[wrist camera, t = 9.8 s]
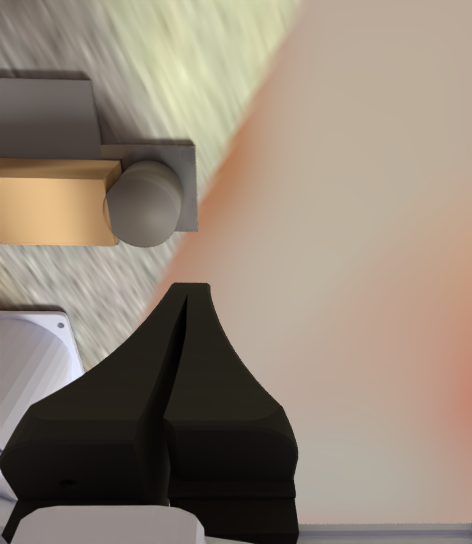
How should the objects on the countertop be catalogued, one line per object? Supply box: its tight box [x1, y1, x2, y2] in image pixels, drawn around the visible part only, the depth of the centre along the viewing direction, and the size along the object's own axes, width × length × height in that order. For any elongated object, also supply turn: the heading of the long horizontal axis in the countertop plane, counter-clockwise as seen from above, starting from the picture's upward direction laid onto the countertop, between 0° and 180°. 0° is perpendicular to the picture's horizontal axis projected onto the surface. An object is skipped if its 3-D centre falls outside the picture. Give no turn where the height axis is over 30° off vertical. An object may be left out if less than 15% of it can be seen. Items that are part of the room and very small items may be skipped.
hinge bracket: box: [100, 143, 198, 232], centre depth 20 cm, size 5×5×1 cm
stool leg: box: [0, 158, 184, 248], centre depth 18 cm, size 16×4×3 cm, turn 88°
